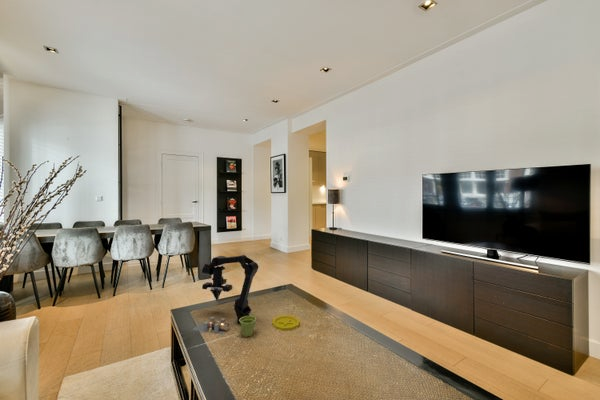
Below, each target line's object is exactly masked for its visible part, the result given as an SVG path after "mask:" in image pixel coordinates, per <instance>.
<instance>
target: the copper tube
mask: <svg viewBox="0 0 600 400" xmlns="http://www.w3.org/2000/svg"><path fill="white" fill-rule="evenodd" d="M207 322H208V328H212V329H214V325H215V324H219V330H225V331H226V332H228V331H229V330H230V328H229V326H231V325H230V323H229V322H225V323H223V322H221V321H219V322H218V321H216V320H214V321H210V320H209V321H207Z"/></svg>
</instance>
